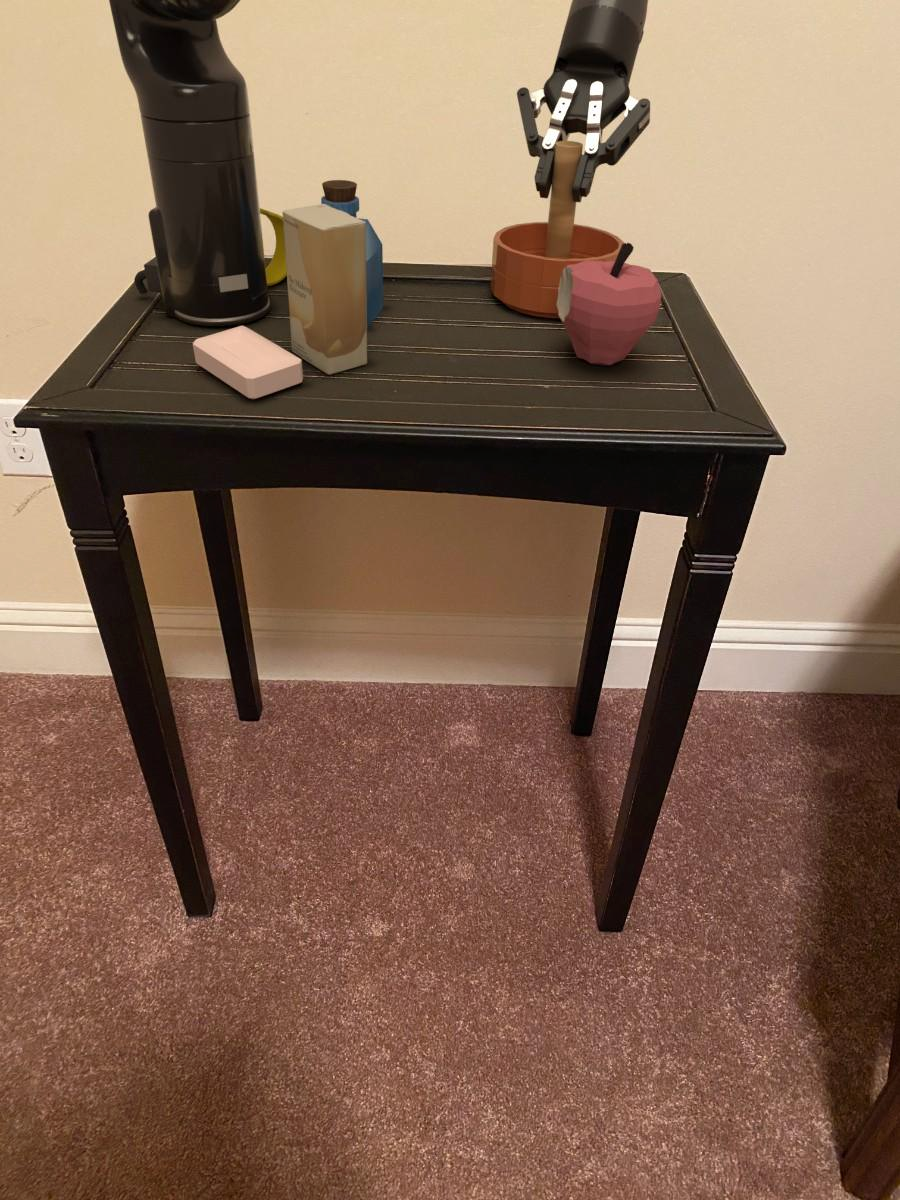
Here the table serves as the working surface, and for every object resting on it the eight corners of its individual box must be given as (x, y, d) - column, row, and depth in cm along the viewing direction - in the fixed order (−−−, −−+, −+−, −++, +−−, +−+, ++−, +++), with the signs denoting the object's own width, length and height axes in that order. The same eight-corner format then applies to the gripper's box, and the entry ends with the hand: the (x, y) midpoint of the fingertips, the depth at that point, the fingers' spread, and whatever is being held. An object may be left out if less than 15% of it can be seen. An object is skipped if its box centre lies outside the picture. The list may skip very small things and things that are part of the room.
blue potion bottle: (366, 329, 82) (362, 195, 74) (305, 322, 83) (295, 189, 75) (383, 307, 87) (381, 179, 79) (325, 301, 88) (317, 173, 80)
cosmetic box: (290, 353, 77) (277, 208, 69) (330, 342, 79) (322, 201, 72) (330, 377, 73) (321, 227, 66) (371, 365, 75) (367, 219, 68)
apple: (548, 338, 82) (560, 228, 76) (638, 341, 82) (657, 232, 76) (556, 380, 74) (570, 262, 68) (655, 384, 74) (678, 266, 68)
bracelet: (268, 286, 94) (287, 293, 92) (207, 268, 88) (225, 276, 86) (285, 218, 92) (304, 224, 90) (223, 194, 86) (242, 200, 84)
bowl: (482, 315, 86) (486, 253, 82) (498, 274, 96) (502, 217, 92) (614, 327, 85) (624, 265, 81) (615, 284, 95) (624, 227, 91)
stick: (535, 295, 89) (549, 146, 80) (538, 284, 92) (551, 138, 83) (569, 298, 88) (587, 148, 80) (571, 286, 91) (589, 141, 82)
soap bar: (252, 404, 69) (248, 376, 67) (193, 364, 74) (189, 338, 72) (306, 384, 72) (304, 357, 70) (247, 348, 77) (243, 321, 75)
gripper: (529, -3, 82) (483, 162, 80) (676, 6, 78) (631, 179, 77) (538, 56, 89) (496, 209, 87) (672, 67, 86) (631, 226, 84)
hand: (559, 194), depth 82 cm, fingers closed on stick, 2 cm apart
